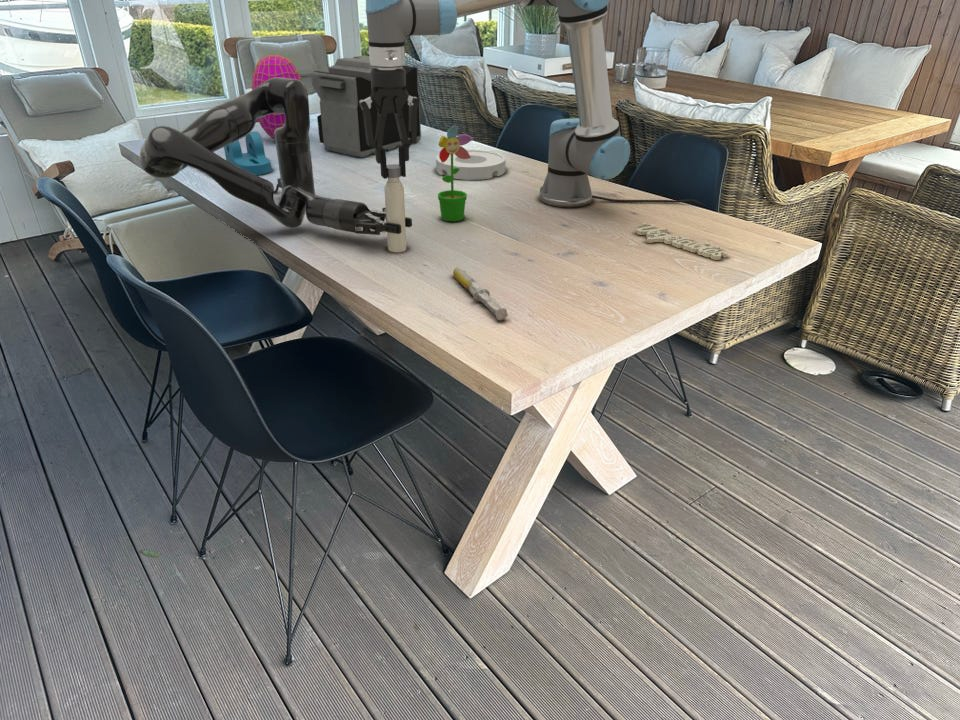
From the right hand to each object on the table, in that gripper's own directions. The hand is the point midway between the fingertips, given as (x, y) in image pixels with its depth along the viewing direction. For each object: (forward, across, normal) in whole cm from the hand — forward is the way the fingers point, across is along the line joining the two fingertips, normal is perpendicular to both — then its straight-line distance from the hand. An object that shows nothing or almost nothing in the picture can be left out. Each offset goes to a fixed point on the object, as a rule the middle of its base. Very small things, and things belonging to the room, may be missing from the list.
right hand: (393, 176), depth 159 cm
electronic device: (+18, +19, +105) cm, 108 cm away
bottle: (+18, 0, 0) cm, 18 cm away
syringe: (+18, +9, -32) cm, 38 cm away
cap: (-2, 0, 0) cm, 2 cm away
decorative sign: (+18, +67, -21) cm, 72 cm away
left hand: (+12, +2, -2) cm, 12 cm away
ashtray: (+18, +42, +61) cm, 76 cm away
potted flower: (+18, +21, +17) cm, 32 cm away
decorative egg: (+18, -10, +125) cm, 126 cm away
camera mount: (+18, -26, +87) cm, 93 cm away
